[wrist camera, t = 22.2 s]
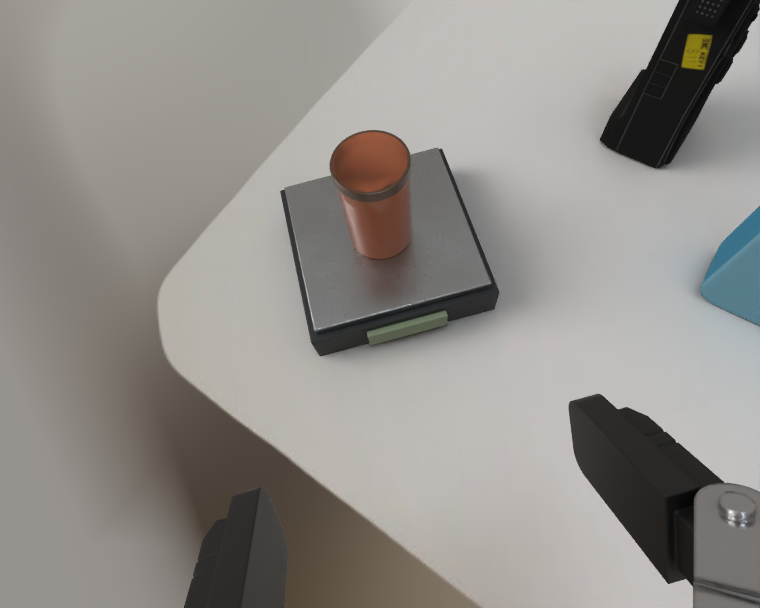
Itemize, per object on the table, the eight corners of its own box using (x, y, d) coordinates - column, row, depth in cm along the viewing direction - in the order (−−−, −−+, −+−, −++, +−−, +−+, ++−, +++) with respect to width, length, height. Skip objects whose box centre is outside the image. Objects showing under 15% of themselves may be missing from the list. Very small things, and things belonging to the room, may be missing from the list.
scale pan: (316, 335, 35) (314, 331, 34) (286, 193, 41) (284, 187, 40) (490, 288, 35) (492, 283, 35) (437, 153, 41) (438, 146, 40)
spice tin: (356, 268, 36) (338, 203, 29) (342, 214, 38) (322, 141, 31) (422, 250, 36) (420, 182, 29) (404, 197, 38) (398, 121, 31)
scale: (320, 362, 37) (312, 349, 35) (289, 211, 44) (280, 190, 41) (496, 314, 38) (502, 298, 35) (441, 171, 44) (441, 148, 41)
